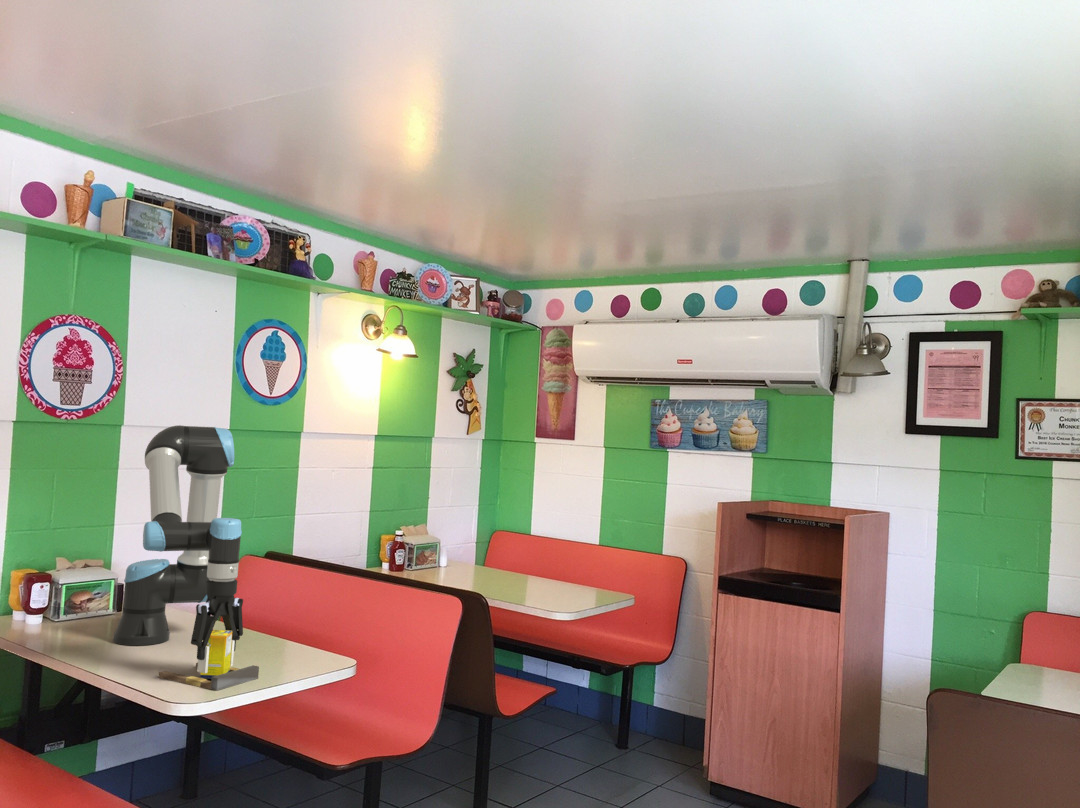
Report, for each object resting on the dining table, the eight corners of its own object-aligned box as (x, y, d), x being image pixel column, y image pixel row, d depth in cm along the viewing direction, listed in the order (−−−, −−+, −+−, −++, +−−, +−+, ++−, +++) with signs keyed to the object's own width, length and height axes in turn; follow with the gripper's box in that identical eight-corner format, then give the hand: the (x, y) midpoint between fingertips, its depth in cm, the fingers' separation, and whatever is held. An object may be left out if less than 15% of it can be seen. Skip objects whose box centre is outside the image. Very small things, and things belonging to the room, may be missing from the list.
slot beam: (158, 677, 217) (159, 665, 217) (201, 665, 230) (202, 654, 230) (216, 690, 208) (217, 678, 209) (258, 678, 221) (259, 666, 221)
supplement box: (206, 671, 221) (209, 629, 222) (229, 672, 221) (233, 630, 222) (199, 678, 215) (202, 634, 216) (223, 679, 216) (226, 635, 216)
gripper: (201, 585, 209) (194, 680, 207) (262, 576, 227) (255, 662, 226) (179, 581, 212) (171, 674, 211) (240, 572, 230) (234, 658, 229)
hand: (215, 668), depth 218 cm, fingers closed on supplement box, 8 cm apart
